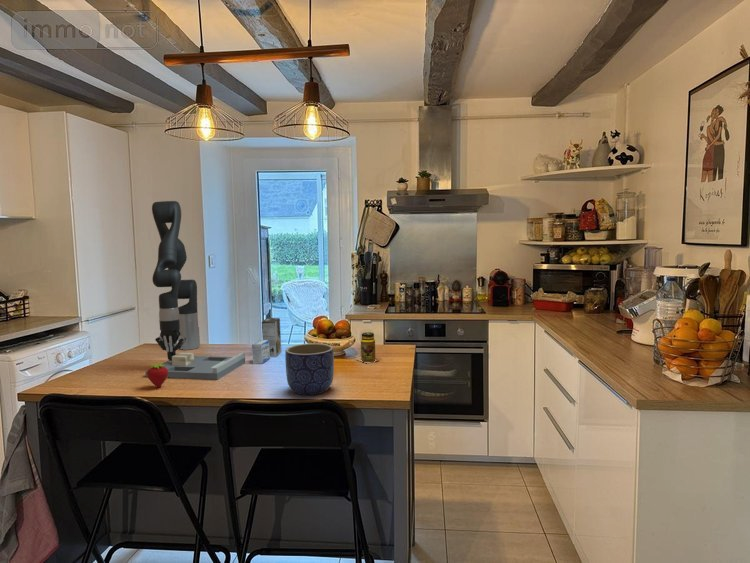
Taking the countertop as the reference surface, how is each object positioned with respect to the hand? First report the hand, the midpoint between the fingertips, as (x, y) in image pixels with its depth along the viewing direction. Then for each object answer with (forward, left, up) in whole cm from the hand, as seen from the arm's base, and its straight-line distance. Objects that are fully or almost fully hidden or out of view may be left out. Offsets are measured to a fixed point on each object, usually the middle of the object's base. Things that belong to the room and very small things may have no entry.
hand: (171, 360), depth 199 cm
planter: (+19, +65, -4) cm, 68 cm away
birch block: (0, +5, -1) cm, 5 cm away
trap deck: (0, +11, -4) cm, 12 cm away
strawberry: (+23, +9, -4) cm, 25 cm away
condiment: (-22, +77, -4) cm, 81 cm away
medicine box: (-15, +32, -4) cm, 36 cm away
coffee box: (-27, +32, -4) cm, 42 cm away
